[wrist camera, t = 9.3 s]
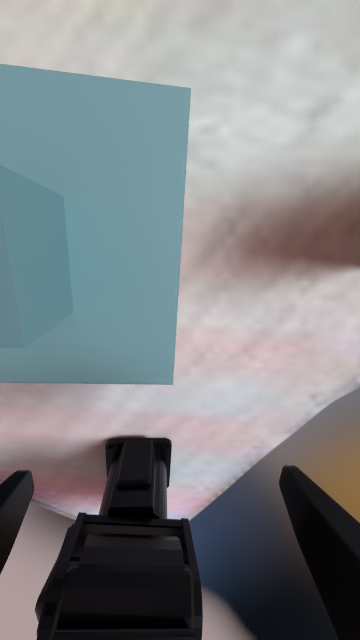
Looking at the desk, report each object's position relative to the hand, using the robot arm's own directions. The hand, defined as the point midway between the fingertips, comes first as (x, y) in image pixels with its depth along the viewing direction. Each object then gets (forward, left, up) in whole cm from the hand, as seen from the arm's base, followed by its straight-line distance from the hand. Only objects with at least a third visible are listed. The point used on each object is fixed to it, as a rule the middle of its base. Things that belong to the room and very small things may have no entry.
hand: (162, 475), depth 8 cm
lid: (+7, +6, -6) cm, 11 cm away
